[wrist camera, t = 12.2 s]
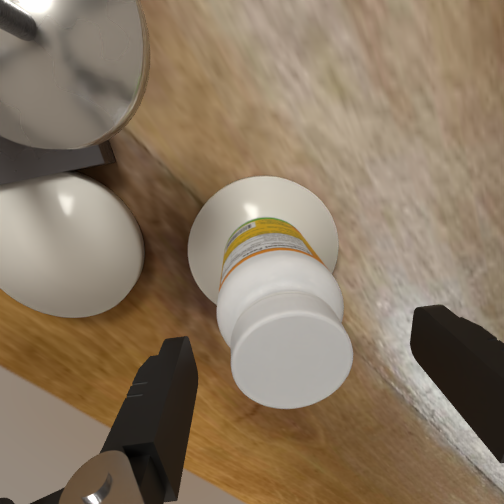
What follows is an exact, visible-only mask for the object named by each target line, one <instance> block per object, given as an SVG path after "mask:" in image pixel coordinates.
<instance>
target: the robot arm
mask: <svg viewBox="0 0 504 504" xmlns="http://www.w3.org/2000/svg"><path fill="white" fill-rule="evenodd" d="M410 347H411V351H412V354H413V356H414V358H415V360H416V361H417V362H418V364H419V365H420V366H421V367H422V368H423V370H424V371H425V372H426V373H427V375H428V376H429V377H430V378H431V379H432V381H433V382H434V383H435V384H436V385H437V387H438V388H439V389H440V390H441V392H442V393H443V394H444V395H445V396H446V398H447V399H448V400H449V401H450V403H451V404H452V405H453V406H454V407H455V409H456V410H457V411H458V412H459V413H460V415H461V416H462V417H463V418H464V420H465V421H466V422H467V423H468V424H469V426H470V427H471V428H472V429H473V431H474V432H475V433H476V434H477V435H478V437H479V438H480V439H481V440H482V441H483V443H484V444H485V445H486V446H487V448H488V449H489V450H490V451H491V452H492V454H493V455H494V456H495V457H496V459H497V460H498V461H499V462H500V463H504V343H503V342H501V341H500V340H499V341H498V340H497V338H496V337H495V336H493V335H492V334H491V333H489V332H488V331H487V330H485V329H484V328H483V327H481V326H479V325H477V324H475V323H473V322H471V321H469V320H466V319H464V318H462V317H460V318H459V317H458V316H457V315H455V314H454V313H453V312H451V311H450V310H449V309H448V308H446V307H445V306H443V305H432V306H424V307H417V308H416V309H415V310H414V315H413V323H412V331H411V339H410ZM197 388H198V371H197V366H196V363H195V359H194V355H193V352H192V348H191V344H190V341H189V338H188V337H187V336H184V337H176V338H169V339H165V340H164V342H163V344H162V347H161V349H160V352H159V354H158V355H156V356H150V357H149V358H148V359H147V360H146V362H145V363H144V364H143V365H142V366H141V367H140V368H139V370H138V372H137V374H136V376H135V378H134V381H133V383H132V386H131V387H130V389H129V391H128V394H127V398H125V400H124V402H123V404H122V407H121V409H120V411H119V413H118V415H117V417H116V419H115V422H114V424H113V426H112V428H111V431H110V432H109V435H108V437H107V439H106V441H105V443H104V446H103V448H102V450H101V451H100V453H99V455H96V456H95V457H93V458H91V459H90V460H88V461H87V462H86V463H85V464H84V465H82V466H81V467H80V468H79V469H78V470H77V471H76V472H75V474H74V475H73V476H72V478H71V479H70V480H69V482H68V483H67V485H66V486H65V487H64V488H62V489H61V490H59V491H56V492H54V493H52V494H50V495H48V496H46V497H43V498H41V499H39V500H37V501H35V502H33V503H30V504H163V503H164V502H171V501H177V498H178V493H179V488H180V482H181V477H182V471H183V466H184V460H185V455H186V449H187V444H188V438H189V433H190V427H191V422H192V416H193V410H194V405H195V399H196V394H197ZM0 504H14V503H13V501H12V500H10V499H8V498H0Z"/></svg>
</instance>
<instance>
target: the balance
mask: <svg viewBox="0 0 504 504" xmlns="http://www.w3.org/2000/svg"><path fill="white" fill-rule="evenodd" d="M149 70H150V42H149V33H148V28H147V23H146V19H145V14H144V11H143V8H142V5H141V2H140V0H0V185H3V184H8V183H13V182H17V181H22V180H27V179H32V178H37V177H41V176H46V175H51V174H56V173H61V172H69V171H76V170H81V169H86V168H90V167H95V166H100V165H105V164H110V163H114V162H116V160H115V157H114V154H113V152H112V149H111V146H110V143H109V141H108V139H110V138H111V137H113V136H114V135H116V134H117V133H119V132H120V131H121V130H122V129H123V128H124V127H125V126H126V125H127V124H128V123H129V121H130V120H131V119H132V117H133V116H134V115H135V113H136V111H137V109H138V108H139V106H140V104H141V101H142V99H143V96H144V94H145V90H146V86H147V82H148V78H149Z"/></svg>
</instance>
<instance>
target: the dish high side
mask: <svg viewBox="0 0 504 504" xmlns="http://www.w3.org/2000/svg"><path fill="white" fill-rule="evenodd" d="M144 258H145V248H144V241H143V236H142V233H141V230H140V227H139V225H138V223H137V221H136V219H135V217H134V216H133V214H132V213H131V211H130V210H129V208H128V207H127V206H126V205H125V203H124V202H123V201H122V200H121V199H120V198H119V197H118V196H117V195H116V194H115V193H114V192H113V191H111V190H110V189H109V188H107V187H106V186H105V185H103V184H102V183H100V182H98V181H97V180H95V179H93V178H91V177H89V176H87V175H84V174H82V173H79V172H76V171H69V172H61V173H56V174H51V175H46V176H41V177H37V178H32V179H27V180H22V181H17V182H13V183H8V184H3V185H0V288H1V289H2V290H3V291H4V292H5V293H7V294H8V295H9V296H11V297H12V298H14V299H15V300H16V301H18V302H20V303H22V304H23V305H25V306H27V307H30V308H32V309H34V310H36V311H39V312H42V313H45V314H49V315H53V316H59V317H68V318H79V317H88V316H93V315H97V314H100V313H103V312H105V311H107V310H109V309H111V308H112V307H114V306H116V305H117V304H118V303H119V302H121V301H122V300H123V299H124V298H125V296H126V295H127V294H128V293H129V292H130V290H131V289H132V288H133V287H134V285H135V284H136V282H137V280H138V279H139V277H140V275H141V272H142V269H143V265H144Z"/></svg>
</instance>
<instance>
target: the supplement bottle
mask: <svg viewBox="0 0 504 504" xmlns="http://www.w3.org/2000/svg"><path fill="white" fill-rule="evenodd" d="M343 311H344V304H343V297H342V293H341V290H340V287H339V285H338V283H337V281H336V280H335V278H334V277H333V275H332V274H331V272H330V271H329V270H328V268H327V267H326V266H325V264H324V263H323V262H322V260H321V259H320V258H319V256H318V255H317V254H316V253H315V251H314V250H313V249H312V247H311V246H310V245H309V243H308V242H307V241H306V239H305V238H304V237H303V236H302V234H301V233H300V232H299V231H298V230H297V229H296V228H295V227H294V226H293V225H292V224H290V223H289V222H287V221H285V220H283V219H280V218H276V217H270V216H263V217H257V218H253V219H251V220H248V221H246V222H244V223H243V224H241V225H240V226H239V227H237V228H236V229H235V230H234V232H233V233H232V234H231V236H230V237H229V239H228V241H227V244H226V247H225V250H224V257H223V265H222V272H221V279H220V286H219V293H218V300H217V321H218V326H219V329H220V332H221V334H222V336H223V338H224V340H225V342H226V343H227V345H228V346H229V347H230V348H231V370H232V374H233V378H234V380H235V382H236V384H237V386H238V387H239V388H240V390H241V391H242V392H243V393H244V394H245V395H246V396H247V397H249V398H250V399H252V400H253V401H255V402H257V403H260V404H262V405H264V406H268V407H272V408H279V409H294V408H300V407H305V406H309V405H312V404H314V403H317V402H319V401H321V400H323V399H325V398H326V397H328V396H330V395H331V394H332V393H333V392H335V391H336V390H337V389H338V388H339V387H340V386H341V384H342V383H343V382H344V381H345V379H346V378H347V376H348V374H349V372H350V369H351V366H352V362H353V348H352V344H351V341H350V338H349V336H348V334H347V332H346V331H345V329H344V327H343V325H342V324H341V323H342V318H343Z"/></svg>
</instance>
